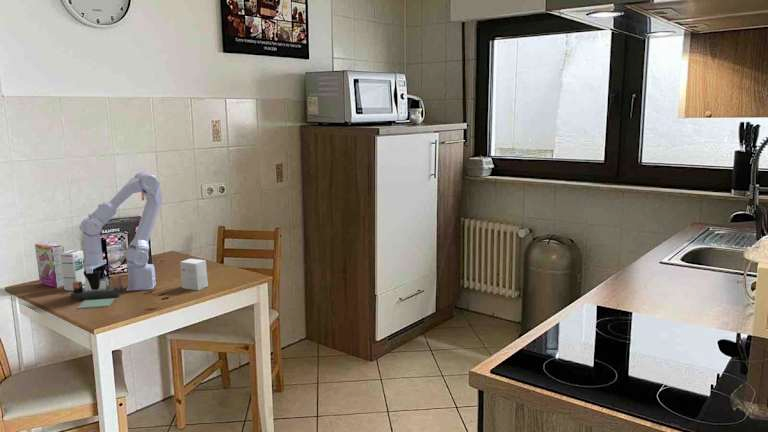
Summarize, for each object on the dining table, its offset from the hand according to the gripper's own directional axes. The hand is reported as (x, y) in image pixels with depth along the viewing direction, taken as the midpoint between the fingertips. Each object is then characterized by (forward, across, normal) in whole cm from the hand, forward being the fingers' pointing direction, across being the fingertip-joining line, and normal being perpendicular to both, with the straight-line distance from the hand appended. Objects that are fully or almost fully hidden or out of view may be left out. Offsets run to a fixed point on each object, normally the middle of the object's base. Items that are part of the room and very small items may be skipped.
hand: (97, 287), depth 213 cm
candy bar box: (+3, -19, -21) cm, 29 cm away
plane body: (+3, 0, 0) cm, 3 cm away
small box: (+3, -2, +34) cm, 34 cm away
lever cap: (+1, 0, 0) cm, 1 cm away
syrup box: (+3, -12, -11) cm, 17 cm away
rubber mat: (+3, +10, +2) cm, 11 cm away
